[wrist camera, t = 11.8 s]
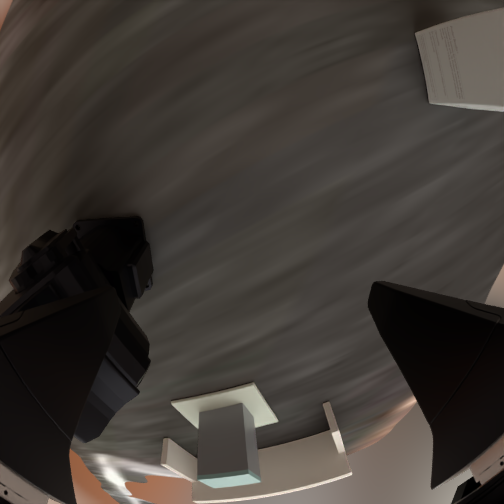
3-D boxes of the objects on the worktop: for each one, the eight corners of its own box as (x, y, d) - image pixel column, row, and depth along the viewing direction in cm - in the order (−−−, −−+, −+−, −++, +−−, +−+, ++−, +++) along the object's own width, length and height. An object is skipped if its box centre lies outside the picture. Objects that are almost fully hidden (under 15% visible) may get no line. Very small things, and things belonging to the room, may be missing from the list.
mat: (171, 401, 30) (170, 403, 30) (253, 382, 30) (254, 384, 29) (206, 434, 35) (206, 436, 34) (278, 419, 34) (278, 421, 33)
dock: (163, 438, 35) (158, 486, 27) (329, 401, 33) (347, 455, 25) (198, 462, 40) (197, 503, 32) (338, 431, 38) (352, 474, 30)
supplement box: (475, 110, 18) (573, 128, 7) (426, 104, 18) (543, 114, 7) (463, 44, 15) (557, 38, 4) (412, 29, 15) (516, 2, 4)
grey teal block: (199, 412, 31) (197, 479, 22) (242, 402, 31) (248, 473, 22) (212, 425, 33) (213, 488, 24) (253, 416, 32) (261, 482, 23)
